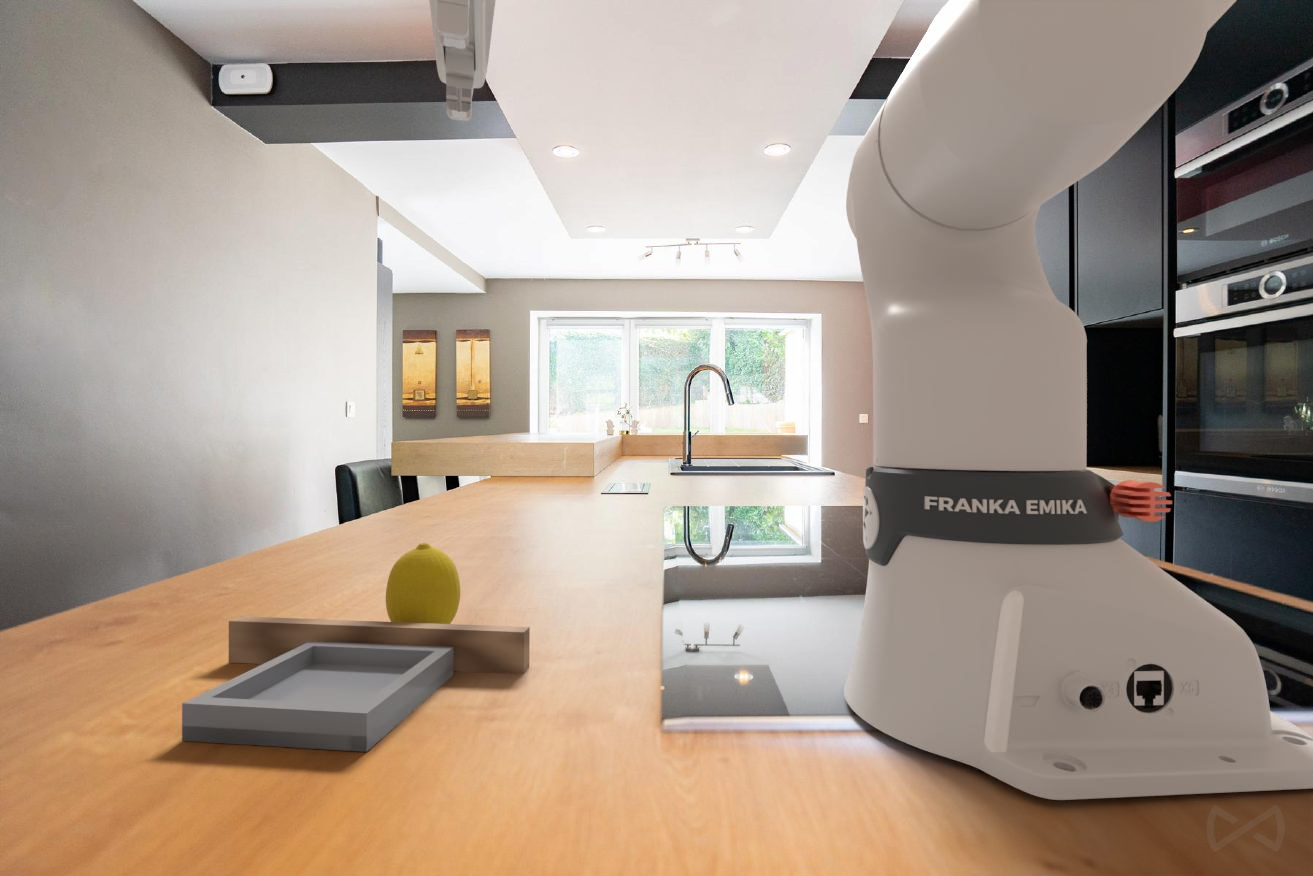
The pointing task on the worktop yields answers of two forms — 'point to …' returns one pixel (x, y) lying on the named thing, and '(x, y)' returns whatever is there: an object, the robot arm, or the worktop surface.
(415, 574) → the lemon
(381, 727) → the dish
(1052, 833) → the worktop surface
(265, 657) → the rail
